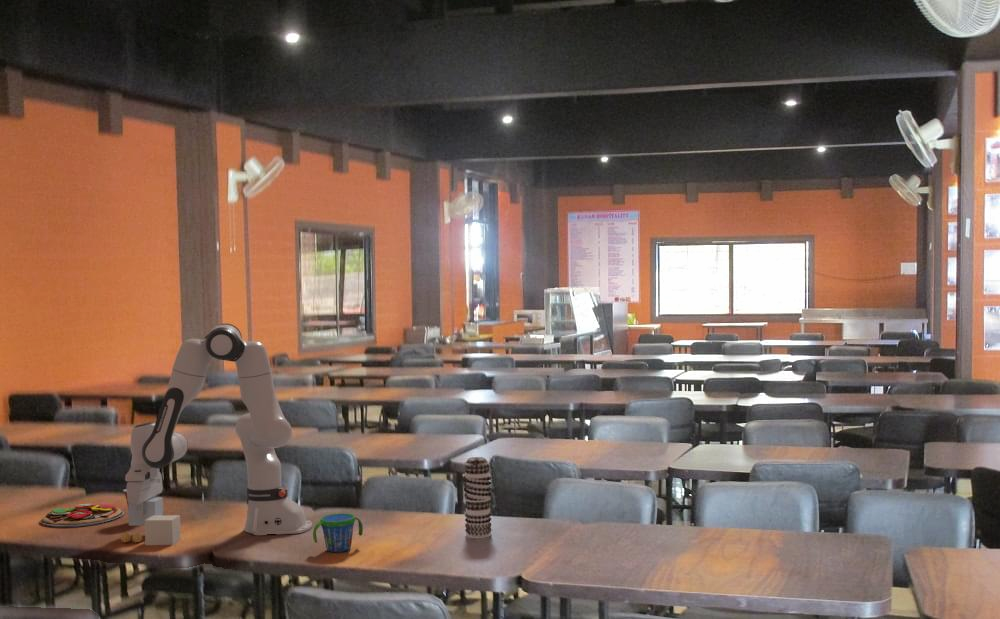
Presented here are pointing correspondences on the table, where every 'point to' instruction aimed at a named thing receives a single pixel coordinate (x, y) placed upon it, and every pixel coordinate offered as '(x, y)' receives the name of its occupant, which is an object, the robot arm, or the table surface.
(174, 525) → the grey cuboid box
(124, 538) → the amber marble
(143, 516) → the white block
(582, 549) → the table surface
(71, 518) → the toy pizza
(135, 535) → the amber marble
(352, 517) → the snack cup
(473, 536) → the decorative candle
